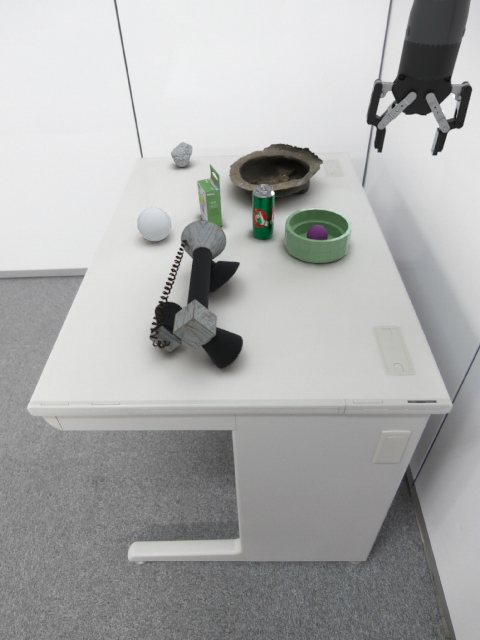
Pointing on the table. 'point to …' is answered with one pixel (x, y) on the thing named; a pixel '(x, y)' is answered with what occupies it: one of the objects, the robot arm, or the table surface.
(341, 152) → the table surface
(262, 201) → the soda can
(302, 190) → the stone bowl
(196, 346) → the telephone
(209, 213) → the ink box
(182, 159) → the grey muffin
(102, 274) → the table surface
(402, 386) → the table surface
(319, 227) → the plum ball
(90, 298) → the table surface
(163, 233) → the ball
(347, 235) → the green bowl
